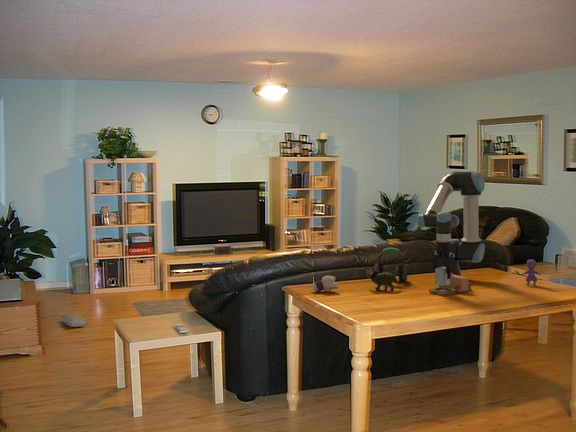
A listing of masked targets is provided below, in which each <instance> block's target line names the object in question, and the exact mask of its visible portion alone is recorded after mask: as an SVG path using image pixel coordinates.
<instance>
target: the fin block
mask: <svg viewBox="0 0 576 432" xmlns="http://www.w3.org/2000/svg"><path fill="white" fill-rule="evenodd" d="M446 272H447V271H446V267H439V268H435V270H434V273H435V275H434V284H435V286H439V285H440V286H445V273H446ZM450 284H451V278H450V279H449V285H450Z"/></svg>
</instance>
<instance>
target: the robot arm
mask: <svg viewBox="0 0 576 432" xmlns="http://www.w3.org/2000/svg"><path fill="white" fill-rule="evenodd" d="M485 187H486V183H485V179H484V176H483V174H482V173H481V172H479V171H453V172H450V173H448V174H446V175H445V176H444V177H443V178H442V179H440V181H439V182H438V183H437V187H436V192H435V193H434V196H433V197H432V199H431V200H430V203H429V204H428V207H427V209H426V210H425V211H424V213H418V215H417V217H416V223H417V225H418V227H420V228H434V229H436V245H435V247H436V250H435V251H432V252H431V255H432V270H433V271H435V268H439V267H446V271H447V272H446V273H445V285H449V279H450V278H451V272H452V274H453V275H458V276H462V272H461V269H460V265H459V264H460V263H459V262H467V263H481V261H482V260H483V258H484V255H485V251H486V250H485V249H486V247H485V244H484V243H483V242H482V239H481V238H480V237H479V227H480V226H479V197H481V195H482V193H483V192H484V191H485ZM453 192H460V196H462V199H463V202H462V203H463V206H462V207H463V237H462V238H461V239H458V238H452V229H455V228H457V227H458V226H459V224H460V218H459V216H458V215H456V214H452V213H451V212H446V211H445V212H443V211H442V210H443V208H444V206H445V204H446V202H447V200H448V198H449V196H450V195H452V194H453Z"/></svg>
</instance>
